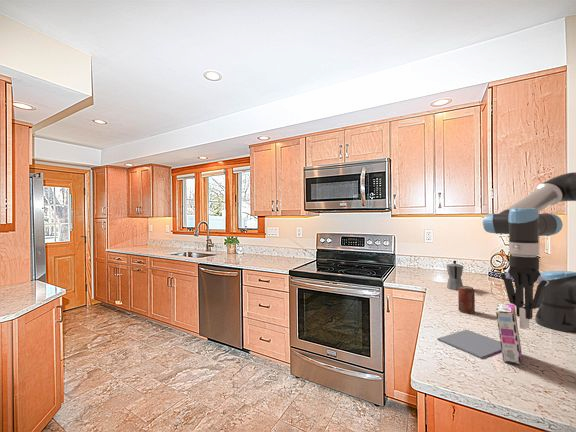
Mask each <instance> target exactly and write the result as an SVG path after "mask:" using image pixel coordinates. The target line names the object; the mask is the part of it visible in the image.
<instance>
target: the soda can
mask: <svg viewBox="0 0 576 432" xmlns="http://www.w3.org/2000/svg"><path fill="white" fill-rule="evenodd" d="M457 291H458V293H457V294H458V311H459V312H461V313H464V314H470V315H471V314H474V313H475V311H476V304H475V301H476V300H475V299H476V297H475V296H476V295H475V293H476V292H475V289H474V287H472V286H469V285H468V286H467V285H463V286H460V287H459V288H458V290H457Z"/></svg>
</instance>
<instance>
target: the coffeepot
mask: <svg viewBox="0 0 576 432" xmlns="http://www.w3.org/2000/svg"><path fill="white" fill-rule="evenodd" d="M463 269H464V265H462V264H458V263H457V261H456V260H453V263H449V264H448V263H447V264H446V270H447V274H448V279H447V285H446V288H447V289H448V290H452V291H458V288H459V287H460V286H464V285H463V280H462V276H463Z"/></svg>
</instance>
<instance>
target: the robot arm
mask: <svg viewBox="0 0 576 432" xmlns="http://www.w3.org/2000/svg"><path fill="white" fill-rule="evenodd" d="M561 202H576V172H567V173H564V174H563V173H562V174H560V175H557V176H555V177H553V178H550V179H548V180H545V181H544V182H541V184H538V185H537V186H536V187H535V188H534V191H533V192H531V193H530V194H528V195H526V196H525V197H523V198H521V199H520V200H518V201H517V202H515V203H513V204H512V205H510V206H509V207H507V208H505V209H504V210H502V211H500V212H499V213H488V214H486V215H485V216H484V218H482V226H483V229H484V231H485V232H486V233H490V234H496V235H499V234H501V235H508V252H509V253H508V254H510V255H509V257H508V261H509V262H508V263H509V264H508V265H509V268H508V270H507V272H505V273H501V274H500V277H501V279H502V280H503V282H504V286H505V291H506V293H507V298H508V301H509V304H511V305H514V306H515V313H516V317H518V318H519V328H520V329H524V330H527V329H530V320H531V319H533V317H535V318H534V319H535V323H536V324H538V325H540V326H542V327H544V328H545V327H546V328H548V329H551V330H557V331H561V332H567V333H568V332H569V333H576V271H570V270H569V271H568V270H549V271H542V272H541V273H540V270H539V269H540V258H539V257H538V256H539V255H540V249H539V247H540V246H539V245H540V244H539V240H540V239H539V238H540V237H545V236H546V237H550V236H554V235H557V234H558V233H560V232H561V231H562V229H563V225H564V224H563V221H562V219H561V218H560V217H559V216H558V215H557V214H553V213H548V212H546V213H540V212H542V211H543V210H545V209H547V207H549V206H554V205H556V204H559V203H561ZM513 281H514V282H513ZM536 282H537V286H536V289H535V294H534V285H535V283H536ZM514 287H515V288H514ZM535 309H537V311H536V313H535V316H533V310H535Z"/></svg>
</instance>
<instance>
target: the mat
mask: <svg viewBox="0 0 576 432" xmlns="http://www.w3.org/2000/svg"><path fill="white" fill-rule="evenodd" d="M436 340H437V341H439V342H442V343H443V342H444V343H443V344H446V345H449V346H451V347H452V348H456V349H457V348H458V350H460V351H462V352H464V353H467V354H469V355H471V356H474V357H476V358H479V359H484V358H487V357H490V356H493V355H495V354H497V353H502V349H501V342H500V340H497V339H494V338H491V337H488V336H486V335H482V334H480V333H477V332H474V331H473V330H469V329H465V330H464V329H463V330H461V331H457V332H455V333H454V332H453V333H452V334H451V333H450V334H447V335H443V336H440V337H437V339H436Z"/></svg>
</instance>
